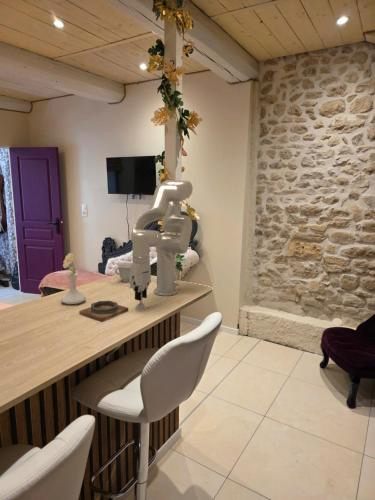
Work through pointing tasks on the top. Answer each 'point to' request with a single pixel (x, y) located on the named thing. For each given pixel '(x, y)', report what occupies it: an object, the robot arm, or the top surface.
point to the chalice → (144, 282)
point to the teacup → (124, 271)
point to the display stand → (103, 310)
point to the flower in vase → (72, 284)
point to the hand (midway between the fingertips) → (140, 298)
